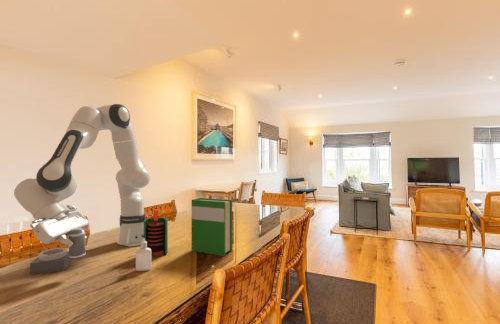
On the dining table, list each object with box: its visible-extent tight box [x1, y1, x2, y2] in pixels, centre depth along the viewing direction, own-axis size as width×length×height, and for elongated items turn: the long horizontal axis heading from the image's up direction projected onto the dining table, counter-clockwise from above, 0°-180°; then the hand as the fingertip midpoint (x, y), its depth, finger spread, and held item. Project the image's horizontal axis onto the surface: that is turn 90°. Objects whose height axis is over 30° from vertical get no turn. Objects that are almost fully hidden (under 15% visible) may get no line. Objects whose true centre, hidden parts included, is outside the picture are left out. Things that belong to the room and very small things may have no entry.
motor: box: [144, 208, 169, 258], centre depth 120 cm, size 10×9×20 cm
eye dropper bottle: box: [135, 238, 153, 272], centre depth 103 cm, size 4×6×12 cm
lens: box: [68, 228, 87, 261], centre depth 97 cm, size 5×5×10 cm
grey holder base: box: [29, 247, 74, 275], centre depth 106 cm, size 11×11×6 cm
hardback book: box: [191, 197, 233, 257], centre depth 124 cm, size 18×7×24 cm, turn 66°
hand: (78, 242), depth 97 cm, fingers closed on lens, 5 cm apart
